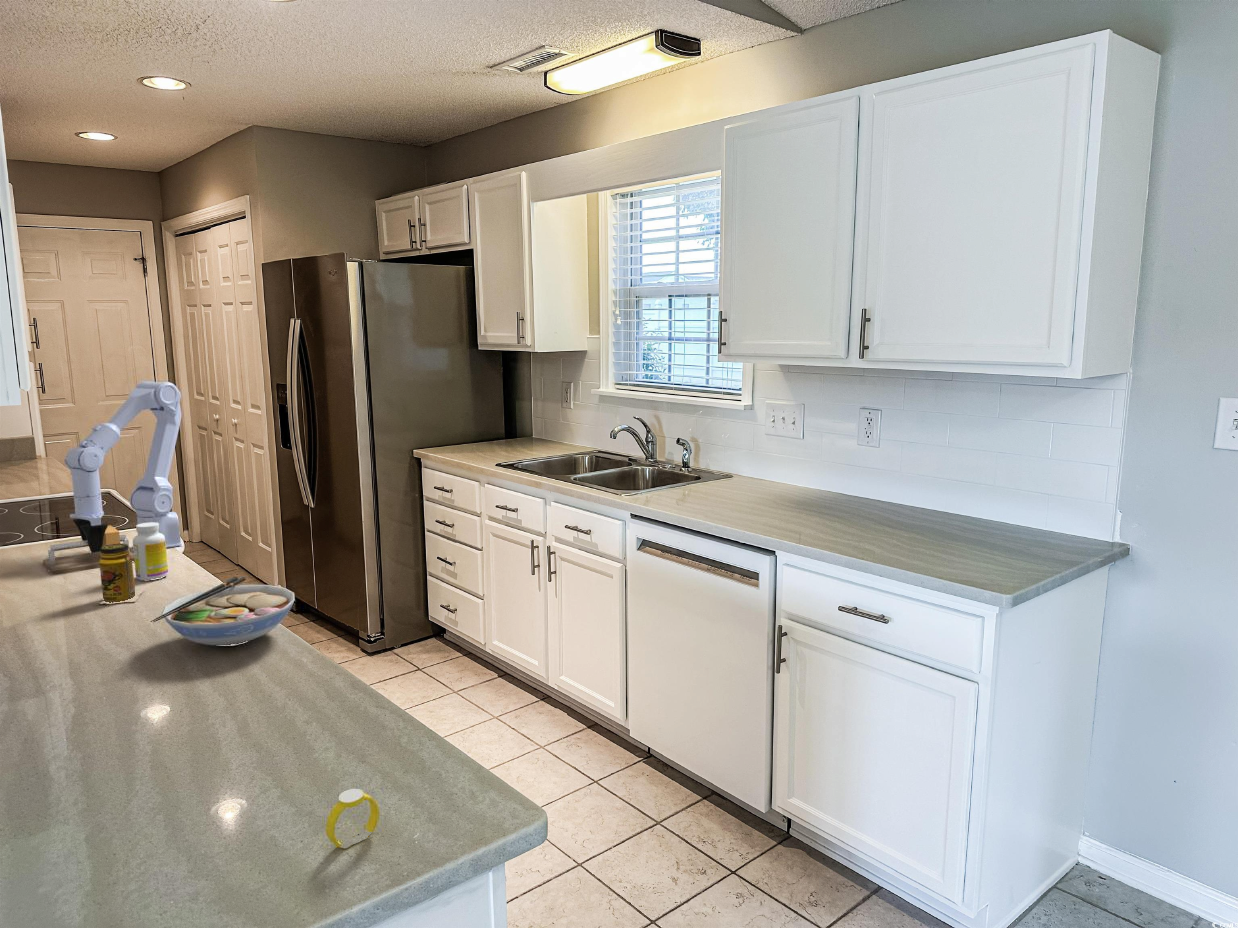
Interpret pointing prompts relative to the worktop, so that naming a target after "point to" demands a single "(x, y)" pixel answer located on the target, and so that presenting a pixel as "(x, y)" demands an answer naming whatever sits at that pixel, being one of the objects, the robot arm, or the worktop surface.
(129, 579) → the condiment
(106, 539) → the collar
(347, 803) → the watch
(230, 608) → the ramen bowl
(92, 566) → the walnut board
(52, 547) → the metal rod
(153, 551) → the supplement bottle
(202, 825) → the worktop surface
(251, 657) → the worktop surface
